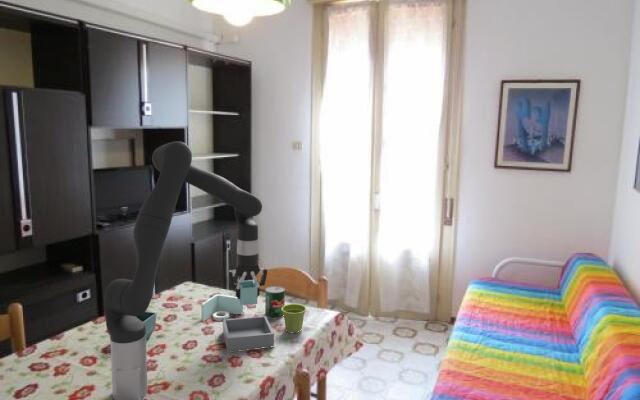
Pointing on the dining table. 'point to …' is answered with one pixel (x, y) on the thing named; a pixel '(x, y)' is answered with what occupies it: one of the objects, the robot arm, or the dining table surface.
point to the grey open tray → (247, 333)
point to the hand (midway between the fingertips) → (247, 297)
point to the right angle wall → (221, 307)
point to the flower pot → (148, 322)
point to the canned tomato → (274, 301)
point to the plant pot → (293, 316)
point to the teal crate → (248, 293)
